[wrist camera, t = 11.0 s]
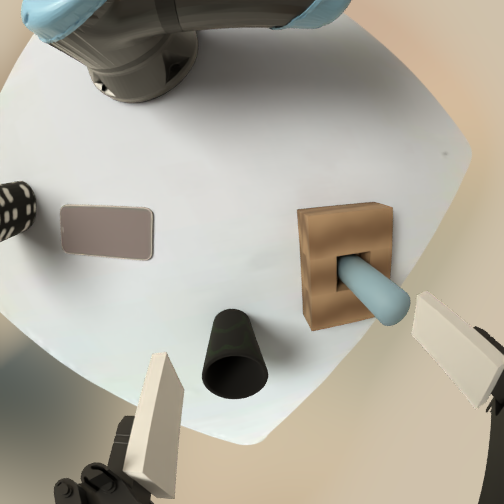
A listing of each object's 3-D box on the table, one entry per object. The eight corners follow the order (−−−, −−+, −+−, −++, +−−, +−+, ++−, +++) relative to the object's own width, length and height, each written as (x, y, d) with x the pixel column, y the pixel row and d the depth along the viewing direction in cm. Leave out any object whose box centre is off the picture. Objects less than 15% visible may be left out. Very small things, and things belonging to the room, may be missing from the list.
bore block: (296, 209, 37) (307, 216, 32) (374, 201, 37) (392, 207, 32) (303, 313, 41) (311, 331, 37) (371, 299, 42) (386, 313, 37)
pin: (330, 251, 37) (380, 295, 24) (356, 247, 37) (412, 287, 24) (330, 278, 38) (376, 329, 25) (355, 273, 39) (407, 320, 25)
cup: (250, 297, 40) (261, 347, 28) (261, 338, 42) (273, 392, 31) (199, 309, 40) (192, 361, 28) (214, 348, 42) (213, 403, 31)
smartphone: (151, 261, 36) (62, 253, 34) (153, 259, 37) (65, 251, 35) (152, 207, 34) (59, 204, 32) (154, 206, 35) (62, 203, 33)
